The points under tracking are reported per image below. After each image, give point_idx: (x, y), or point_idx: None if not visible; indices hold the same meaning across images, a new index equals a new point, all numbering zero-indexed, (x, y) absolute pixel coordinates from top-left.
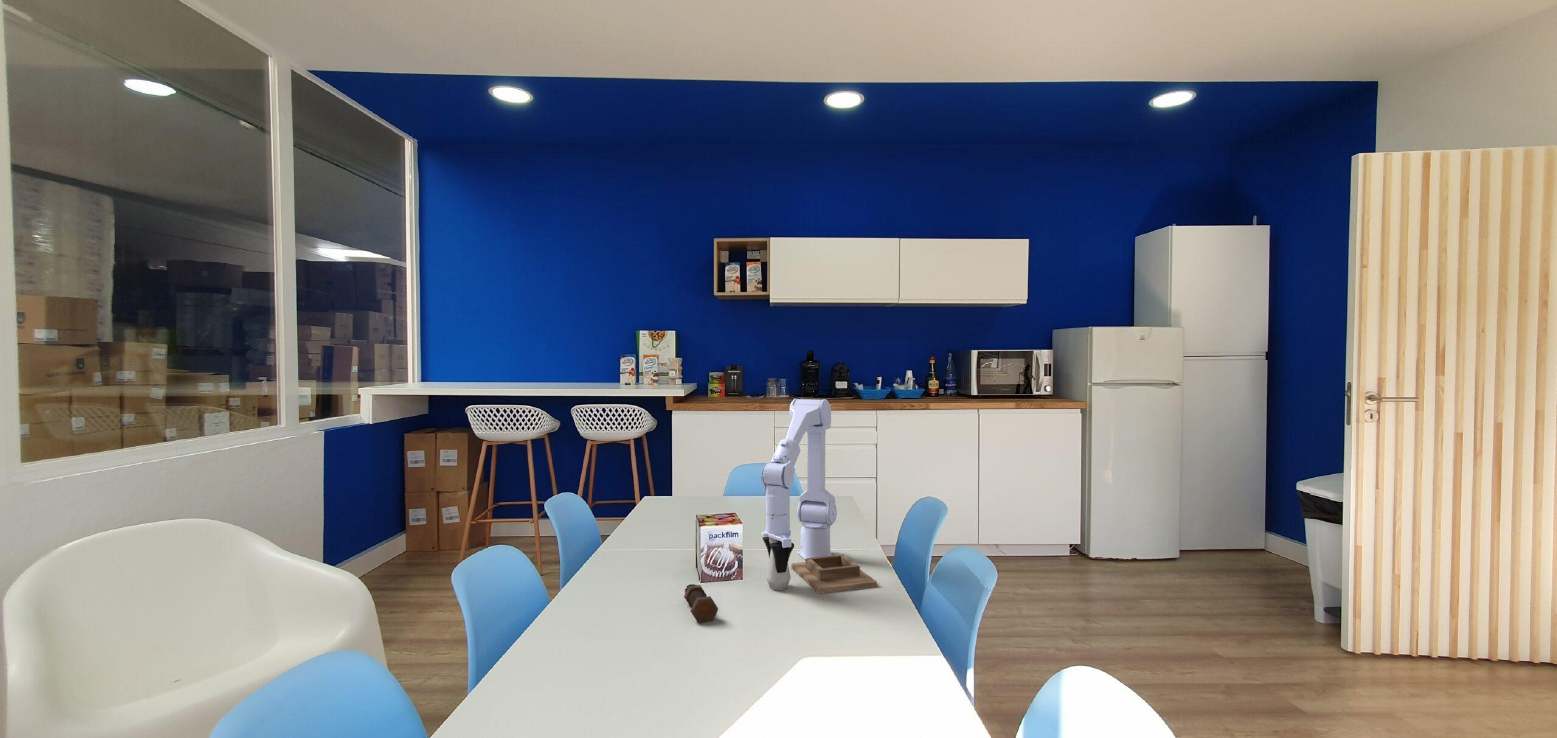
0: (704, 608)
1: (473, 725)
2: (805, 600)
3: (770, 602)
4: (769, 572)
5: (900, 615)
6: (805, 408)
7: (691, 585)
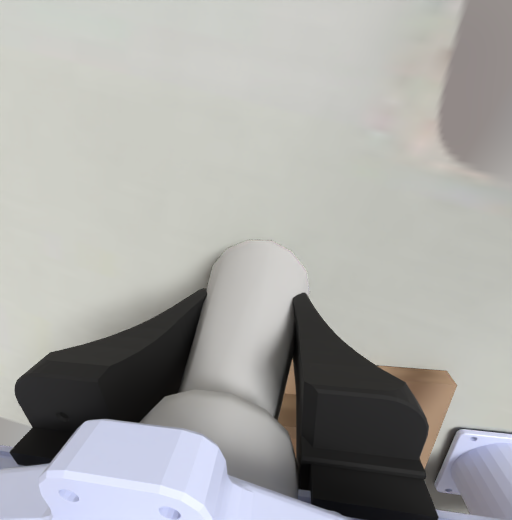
0: None
1: None
2: (136, 305)
3: (129, 202)
4: (238, 260)
5: None
6: None
7: None
